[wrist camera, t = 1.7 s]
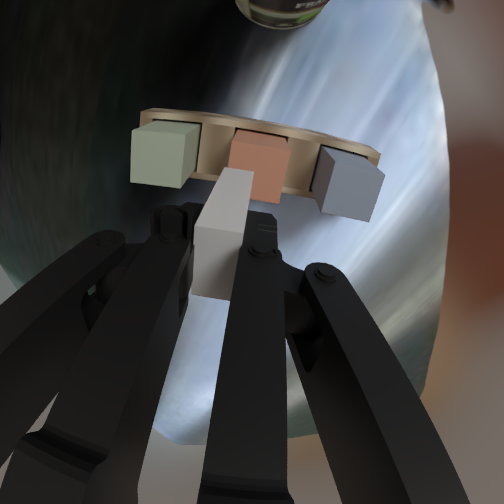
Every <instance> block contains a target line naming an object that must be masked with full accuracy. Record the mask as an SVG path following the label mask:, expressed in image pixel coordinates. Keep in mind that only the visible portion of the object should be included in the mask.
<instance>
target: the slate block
mask: <svg viewBox="0 0 504 504" xmlns="http://www.w3.org/2000/svg"><path fill="white" fill-rule="evenodd" d="M384 177H385V174H384V173H382V172H381V171H380V170H379V169H378V168H377V167H375V166H374V165H373V164H372V163H371V162H369V161H368V160H367V159H366V158H364V157H363V156H361V155H357V154H354V153H350V152H346V151H343V150H339V149H335V148H331V147H327V146H323V145H321V146H320V150H319V154H318V158H317V162H316V166H315V170H314V174H313V178H312V182H311V185H310V187H311V190H312V192H313V194H314V196H315V199H316V201H317V204H318V206H319V208H320V211H321V212H323V213H328V214H333V215H337V216H342V217H347V218H351V219H356V220H361V221H365V222H369V221H370V218H371V215H372V212H373V210H374V207H375V204H376V201H377V198H378V195H379V192H380V189H381V186H382V183H383V180H384Z"/></svg>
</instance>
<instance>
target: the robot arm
mask: <svg viewBox="0 0 504 504" xmlns="http://www.w3.org/2000/svg"><path fill="white" fill-rule="evenodd" d="M0 141H1V125H0ZM253 176H254V172H253V171H247V170H240V169H234V168H227V167H224V169H223V171H222V173H221V175H220V177H219V179H218V181H217V182H216V184H215V186H214V188H213V190H212V192H211V194H210V196H209V198H208V200H207V202H206V204H199V203H192V202H187V203H185V204H183V205H181V206H173V205H167V206H160V207H157V208H154V209H153V210H152V211H150V222H151V235H150V237H149V238H148V240H147V241H146V243H138V244H126V240H125V236H124V235H123V234H122V233H120V232H118V231H113V230H103V231H100V232H97V233H95V234H93V235H91V236H89V237H88V238H86V239H85V240H83V241H82V242H81V243H79V244H78V245H76V246H75V247H73V248H72V249H71V250H69V251H68V252H67V253H65V254H64V255H62V256H61V257H60V258H58V259H57V260H56V261H54V262H53V263H52V264H50V265H49V266H48V267H46V268H45V269H44V270H42V271H41V272H40V273H39V274H37V275H36V276H35V277H33V278H32V279H31V280H30V281H28V282H27V283H26V284H25V285H24V286H22V287H21V288H20V289H19V290H17V291H16V292H15V293H14V294H13V295H12V296H10V297H9V298H8V299H7V300H6V301H4V303H2V304H1V305H0V468H1V466H2V465H3V464H4V462H5V461H6V460H7V459H8V457H9V456H10V455H11V453H12V452H13V450H14V452H13V454H12V457H11V459H10V462H9V465H8V468H7V470H6V473H5V476H4V479H3V482H2V485H1V488H0V504H138V493H137V487H138V481H139V477H140V473H141V468H142V464H143V460H144V456H145V452H146V448H147V444H148V440H149V436H150V433H151V429H152V425H153V421H154V418H155V414H156V410H157V407H158V403H159V399H160V396H161V392H162V389H163V385H164V382H165V378H166V375H167V371H168V368H169V365H170V361H171V358H172V354H173V351H174V348H175V345H176V341H177V338H178V335H179V332H180V328H181V325H182V322H183V319H184V316H185V313H186V309H187V306H188V294H189V290H190V287H191V294H193V295H198V296H204V297H210V298H216V299H222V300H228V301H230V306H229V311H228V317H227V323H226V329H225V335H224V341H223V346H222V352H221V358H220V364H219V370H218V376H217V382H216V389H215V395H214V401H213V407H212V413H211V419H210V426H209V432H208V438H207V445H206V451H205V458H204V464H203V471H202V478H201V483H200V488H199V494H198V499H197V504H294V500H293V499H292V497H291V495H290V494H289V492H288V488H287V377H286V340H287V343H288V346H289V348H290V351H291V354H292V357H293V360H294V363H295V366H296V369H297V372H298V375H299V378H300V380H301V383H302V386H303V389H304V392H305V395H306V398H307V401H308V404H309V407H310V410H311V413H312V416H313V418H314V421H315V424H316V427H317V430H318V433H319V436H320V439H321V442H322V445H323V448H324V451H325V453H326V457H327V460H328V463H329V466H330V469H331V471H332V474H333V477H334V480H335V483H336V486H337V489H338V492H339V495H340V498H341V501H342V504H470V502H469V500H468V497H467V495H466V493H465V491H464V488H463V486H462V483H461V481H460V479H459V477H458V474H457V472H456V470H455V468H454V466H453V463H452V461H451V459H450V457H449V455H448V453H447V451H446V449H445V447H444V445H443V443H442V441H441V439H440V437H439V435H438V433H437V431H436V429H435V427H434V425H433V423H432V421H431V419H430V417H429V415H428V413H427V411H426V410H425V408H424V406H423V404H422V402H421V400H420V398H419V396H418V395H417V393H416V391H415V389H414V387H413V386H412V384H411V382H410V380H409V378H408V377H407V375H406V373H405V371H404V370H403V368H402V366H401V364H400V363H399V361H398V359H397V358H396V356H395V354H394V353H393V351H392V349H391V348H390V346H389V344H388V343H387V341H386V339H385V338H384V336H383V334H382V333H381V331H380V329H379V328H378V326H377V324H376V323H375V321H374V320H373V318H372V316H371V315H370V313H369V312H368V310H367V309H366V307H365V305H364V304H363V302H362V301H361V299H360V298H359V296H358V295H357V293H356V291H355V290H354V288H353V287H352V285H351V284H350V282H349V281H348V279H347V278H346V276H345V275H344V274H343V273H342V272H341V271H340V270H339V269H337V268H336V267H334V266H333V265H329V264H327V263H320V262H317V263H311V264H309V265H307V266H306V268H305V270H304V271H303V270H300V269H297V268H295V267H293V266H290V265H289V264H287V263H285V262H284V261H283V260H282V254H281V252H280V251H279V250H278V242H277V220H276V219H275V218H274V216H273V215H272V214H269V213H263V212H257V211H250V210H248V206H249V200H250V194H251V188H252V182H253ZM92 286H94V290H95V292H94V293H93V294H91V295H88V292H87V290H89V289H90V288H91V287H92ZM285 337H286V339H285ZM58 392H59V393H58ZM57 393H58V395H57ZM55 395H57V397H56V399H55V401H54V403H53V406H52V408H51V410H50V412H49V414H48V417H47V419H46V422H45V424H44V425H43V427H42V428H41V429H40V430H39V431H36V432H30V433H27V434H26V432H27V431H28V430H29V429H30V428H31V426H32V425H33V424H34V422H35V421H36V420H37V419H38V417H39V416H40V414H41V413H42V412H43V411H44V410H45V408H46V407H47V405H48V404H49V403H50V402H51V401H52V399H53V398H54V397H55Z"/></svg>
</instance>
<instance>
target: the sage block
mask: <svg viewBox="0 0 504 504" xmlns="http://www.w3.org/2000/svg"><path fill="white" fill-rule="evenodd" d="M200 130H201V124H198V123H188V122H178V121H166V120H156V121H154V122H151V123H149V124H146V125H144V126H141V127H139V128H137V129H134V130H132V143H131V174H130V182H133V183H142V184H150V185H158V186H166V187H174V188H181V187H182V186H183V184H184V183H185V181H186V180H187V179H188V177H189V176H190V175H191V173H192V172H193V171H194V169H195V168H196V164H197V155H198V146H199V138H200Z"/></svg>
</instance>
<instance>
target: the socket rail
mask: <svg viewBox="0 0 504 504" xmlns="http://www.w3.org/2000/svg"><path fill="white" fill-rule="evenodd" d="M163 119H169V120H181V121H191V122H200V123H203V124H202V132H201V139H200V148H199V156H198V162H197V164H196V168H195V169H194V171H193V172H192V173H191V175H190V176H189V178H196V179H203V180H210V181H218V179H219V177H220V175H221V173H222V171H223V169H224V167H227V168H228V163H229V156H230V150H231V144H232V140H233V138H234V136H235V134H236V132H237V127H238V128H244V129H251V130H257V131H262V132H268V133H273V134H278V135H283V136H285V139H286V141H287V143H288V146H289V148H290V150H291V153H290V157H289V162H288V166H287V171H286V175H285V180H284V184H283V188H282V193H288V194H293V195H298V196H303V197H308V198H313V199H315V196H314V194H313V192H312V190H311V187H310V185H311V179H312V175H313V171H314V167H315V164H316V160H317V156H318V152H319V147H320V144H324V145H328V146H332V147H336V148H340V149H344V150H348V151H351V152H355V153H356V154H357V155H361V156H363V157H364V158H366V159H367V160H368V161H369V162H371V163H372V164H373V165H374V166H375V167H377V165H378V162H379V159H380V155H381V154H380V153H379V152H377V151H376V150H374V149H373V148H371V147H370V146H367V145H364V144H361V143H357V142H354V141H350V140H347V139H343V138H339V137H335V136H332V135H328V134H324V133H320V132H315V131H311V130H307V129H302V128H298V127H293V126H288V125H283V124H278V123H273V122H268V121H262V120H256V119H250V118H244V117H238V116H231V115H223V114H216V113H207V112H198V111H188V110H177V109H163V108H151V109H148V110H144V111H141V116H140V127H141V126H144V125H146V124H149V123H151V122H154V121H156V120H163Z"/></svg>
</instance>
